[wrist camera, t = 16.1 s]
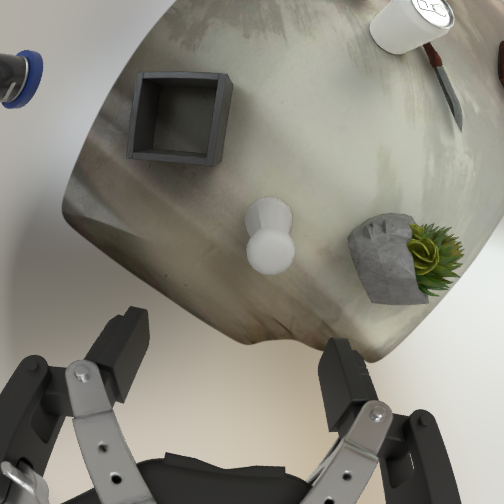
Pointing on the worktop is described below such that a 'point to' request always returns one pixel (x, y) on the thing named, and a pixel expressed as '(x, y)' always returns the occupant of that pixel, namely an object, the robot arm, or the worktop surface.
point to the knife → (444, 83)
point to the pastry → (501, 62)
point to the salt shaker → (269, 235)
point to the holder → (147, 111)
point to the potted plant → (402, 259)
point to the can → (410, 24)
